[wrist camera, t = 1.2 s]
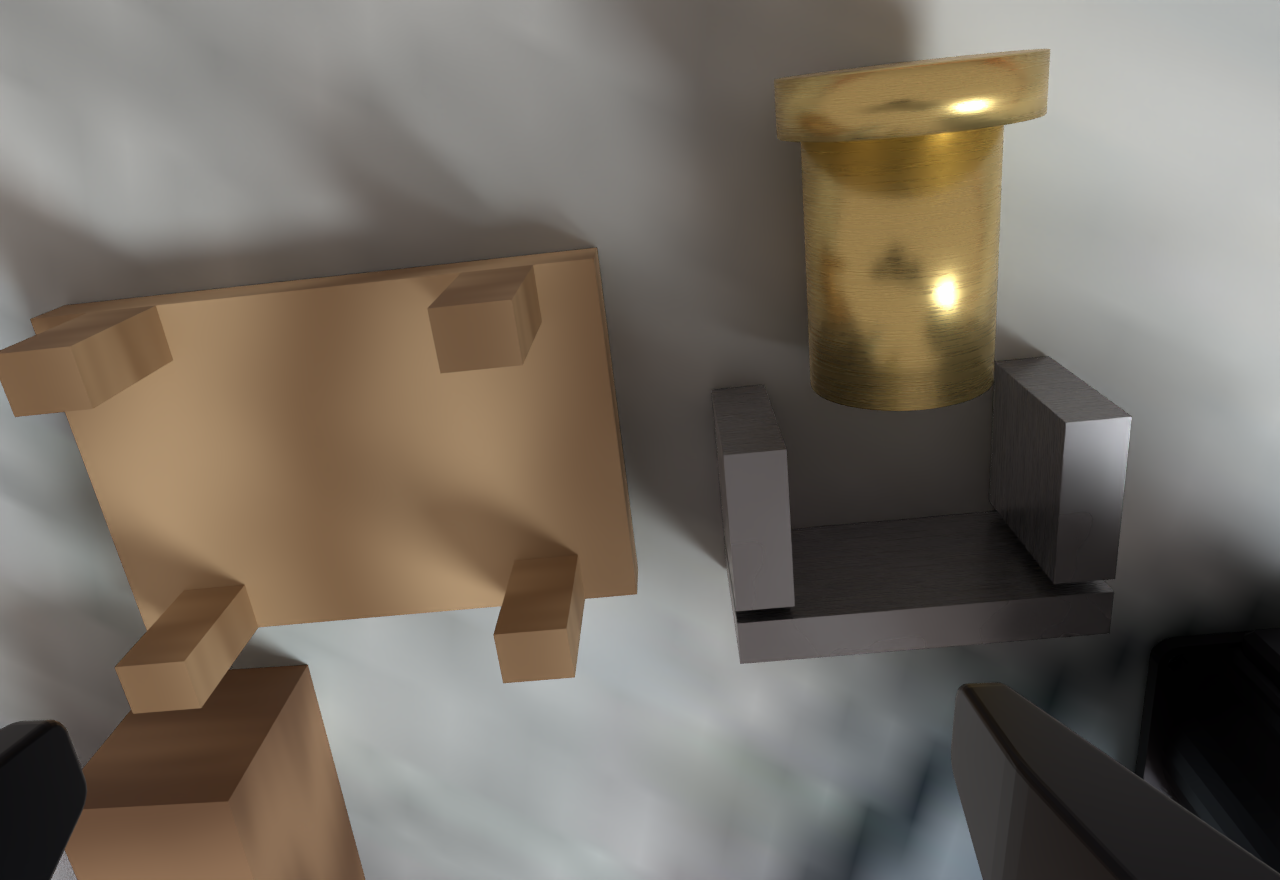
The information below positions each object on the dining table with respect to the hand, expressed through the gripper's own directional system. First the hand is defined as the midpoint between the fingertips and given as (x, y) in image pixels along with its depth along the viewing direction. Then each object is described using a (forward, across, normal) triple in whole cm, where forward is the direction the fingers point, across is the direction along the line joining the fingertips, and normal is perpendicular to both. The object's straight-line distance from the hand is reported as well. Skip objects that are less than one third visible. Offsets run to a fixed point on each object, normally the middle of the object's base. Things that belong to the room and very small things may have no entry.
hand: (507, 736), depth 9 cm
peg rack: (+12, +5, +2) cm, 14 cm away
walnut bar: (+13, +10, +14) cm, 21 cm away
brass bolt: (+12, -6, -2) cm, 14 cm away
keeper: (+12, -7, +3) cm, 14 cm away
